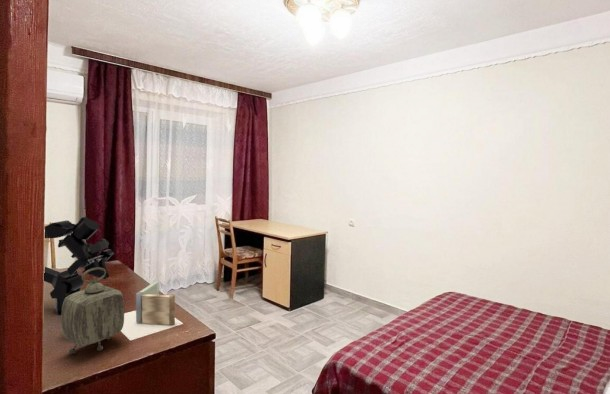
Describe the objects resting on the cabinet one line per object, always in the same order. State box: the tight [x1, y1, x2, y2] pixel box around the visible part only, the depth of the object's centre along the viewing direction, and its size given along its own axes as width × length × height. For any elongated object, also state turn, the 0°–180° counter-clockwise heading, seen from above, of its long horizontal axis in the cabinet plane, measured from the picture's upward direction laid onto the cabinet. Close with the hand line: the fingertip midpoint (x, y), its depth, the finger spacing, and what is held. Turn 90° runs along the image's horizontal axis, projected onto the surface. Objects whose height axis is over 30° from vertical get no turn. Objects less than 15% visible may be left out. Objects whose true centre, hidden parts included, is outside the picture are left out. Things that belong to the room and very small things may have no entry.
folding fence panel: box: [135, 280, 160, 323], centre depth 126 cm, size 14×2×10 cm, turn 178°
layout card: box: [120, 309, 184, 341], centre depth 122 cm, size 18×23×1 cm
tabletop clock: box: [60, 267, 125, 355], centre depth 102 cm, size 14×9×25 cm, turn 150°
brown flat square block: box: [141, 294, 176, 326], centre depth 120 cm, size 12×2×11 cm, turn 86°
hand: (107, 277), depth 128 cm, fingers closed
